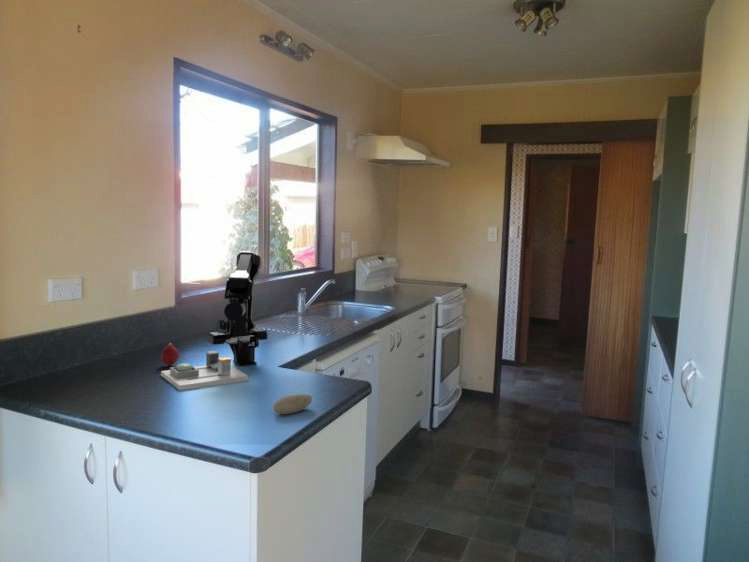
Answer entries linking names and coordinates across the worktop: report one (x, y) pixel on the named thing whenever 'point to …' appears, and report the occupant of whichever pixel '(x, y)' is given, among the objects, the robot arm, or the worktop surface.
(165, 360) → the onion
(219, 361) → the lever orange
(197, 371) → the panel
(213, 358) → the slider grey
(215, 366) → the rocker grey
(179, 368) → the button green
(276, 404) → the stone
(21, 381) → the worktop surface
